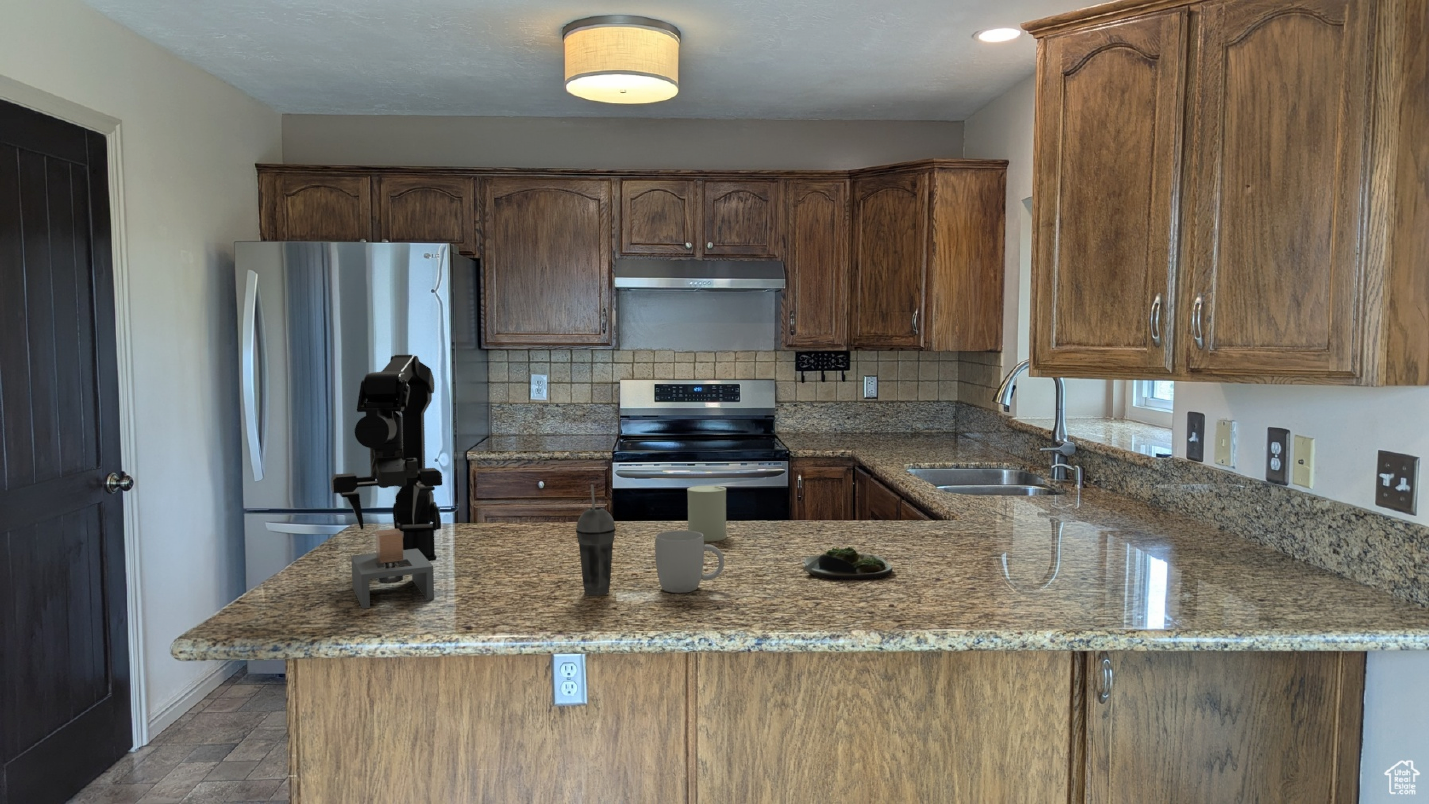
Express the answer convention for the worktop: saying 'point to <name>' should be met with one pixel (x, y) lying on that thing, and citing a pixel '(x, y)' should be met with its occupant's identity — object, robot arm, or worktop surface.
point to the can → (707, 512)
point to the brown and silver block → (389, 551)
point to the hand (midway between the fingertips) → (388, 526)
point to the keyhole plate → (391, 573)
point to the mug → (683, 560)
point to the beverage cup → (596, 548)
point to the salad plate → (847, 565)
